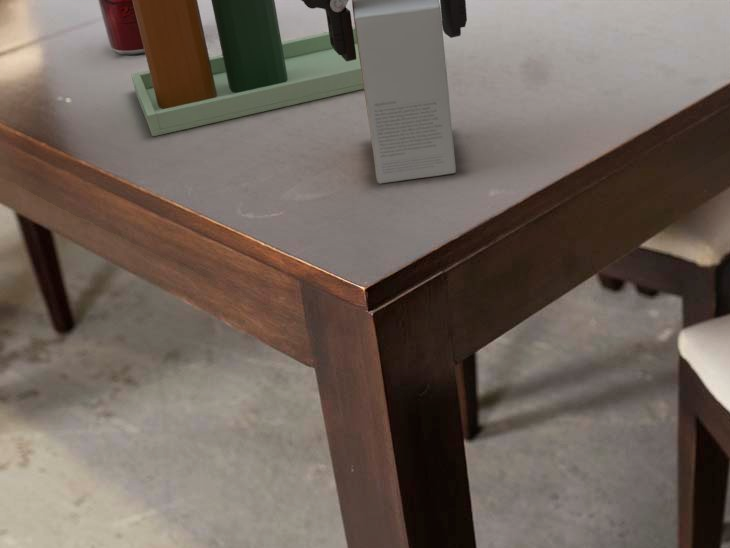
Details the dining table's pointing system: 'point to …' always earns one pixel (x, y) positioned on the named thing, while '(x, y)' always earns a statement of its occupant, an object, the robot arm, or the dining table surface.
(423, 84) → the small box
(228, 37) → the green bottle
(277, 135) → the dining table surface
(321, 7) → the robot arm
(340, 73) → the tray
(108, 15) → the soda can
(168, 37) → the amber bottle
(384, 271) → the dining table surface
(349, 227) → the dining table surface
